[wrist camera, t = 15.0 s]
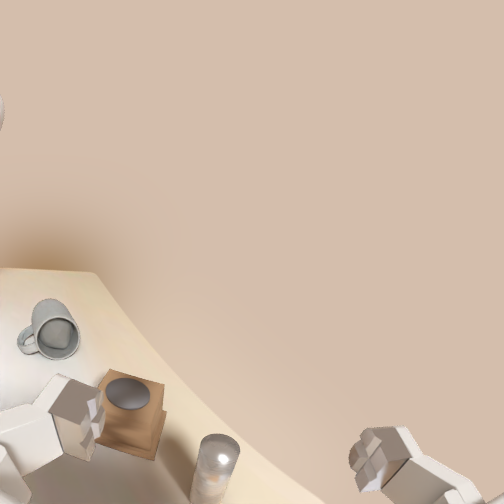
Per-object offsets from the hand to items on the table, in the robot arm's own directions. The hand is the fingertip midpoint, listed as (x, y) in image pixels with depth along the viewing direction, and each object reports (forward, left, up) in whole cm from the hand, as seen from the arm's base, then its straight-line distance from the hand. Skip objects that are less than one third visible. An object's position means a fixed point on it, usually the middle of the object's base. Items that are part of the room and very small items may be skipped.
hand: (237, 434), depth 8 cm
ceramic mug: (-27, +28, -23) cm, 45 cm away
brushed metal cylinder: (+1, +10, -23) cm, 25 cm away
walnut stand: (-9, +18, -23) cm, 30 cm away
